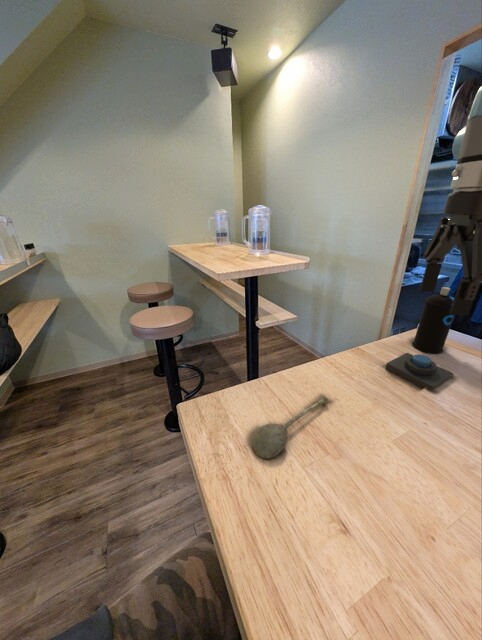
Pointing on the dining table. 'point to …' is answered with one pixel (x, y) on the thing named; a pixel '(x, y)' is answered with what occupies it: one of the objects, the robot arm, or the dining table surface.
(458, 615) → the dining table surface
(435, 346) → the aerosol can
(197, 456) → the dining table surface
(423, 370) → the button housing
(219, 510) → the dining table surface
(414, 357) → the push top
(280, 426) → the soupspoon
